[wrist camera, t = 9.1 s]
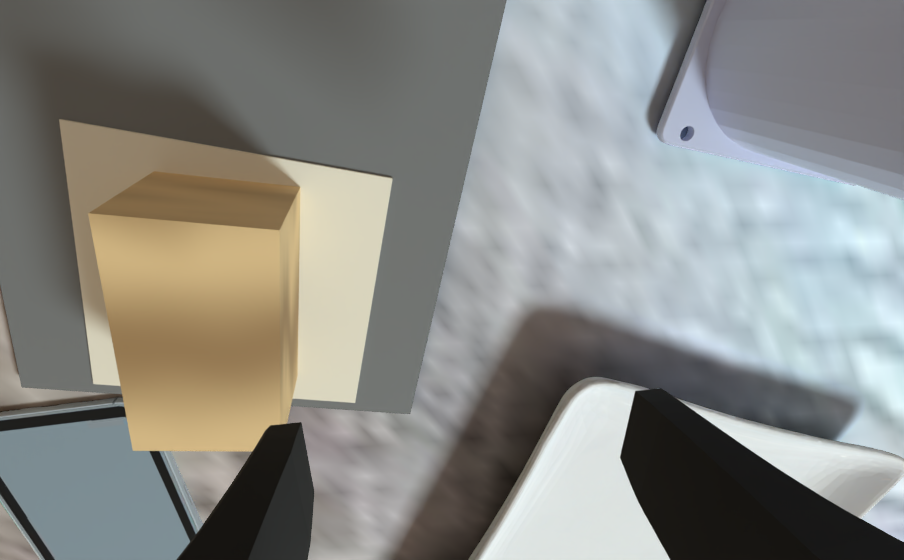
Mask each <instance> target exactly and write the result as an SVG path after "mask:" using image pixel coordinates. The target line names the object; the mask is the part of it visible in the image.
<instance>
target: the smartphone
mask: <svg viewBox="0 0 904 560" xmlns="http://www.w3.org/2000/svg"><path fill="white" fill-rule="evenodd" d="M0 502H1V504H2V505H3V507H4V508H5V510H6V511H7V513H8V514H9V515H10V517H11V518H12V520H13V521H14V523H15V524H16V526H17V527H18V528H19V530H20V531H21V533H22V534H23V536H24V537H25V539H26V540H27V541H28V543H29V544H30V546H31V547H32V549H33V550H34V552H35V553H36V554H37V556H38V557H39V559H40V560H177V558H178V557H179V556H180V554H181V553H182V552H183V551H184V549H185V548H186V547H187V545H188V544H189V543H190V541H191V540H192V539H193V537H194V536H195V535H196V534H197V532H198V531H199V530H200V528H201V527H202V525H203V523H202V521H201V519H200V516H199V514H198V512H197V510H196V507H195V505H194V503H193V500H192V498H191V496H190V494H189V491H188V489H187V487H186V484H185V482H184V480H183V478H182V475H181V473H180V471H179V469H178V466H177V464H176V462H175V459H174V457H173V455H172V453H171V451H133V449H132V444H131V439H130V433H129V428H128V423H127V417H126V412H125V407H124V401H123V397H118V398H109V399H101V400H99V401H97V400H94V401H88V402H85V401H84V402H82V403H80V402H76V403H68V404H60V405H57V406H49V407H36V408H26V409H21V410H18V409H17V410H14V411H12V410H9V411H7V412H6V411H3V412H0Z"/></svg>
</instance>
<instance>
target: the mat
mask: <svg viewBox="0 0 904 560" xmlns="http://www.w3.org/2000/svg"><path fill="white" fill-rule="evenodd" d="M505 4H506V0H0V286H1V291H2V296H3V300H4V305H5V310H6V315H7V319H8V324H9V329H10V334H11V338H12V343H13V348H14V353H15V358H16V362H17V367H18V372H19V377H20V381H21V386H22V387H25V388H39V389H54V390H68V391H82V392H97V393H111V394H122V391H121V386H120V380H119V375H118V370H117V364H116V359H115V354H114V348H113V343H112V338H111V332H110V327H109V322H108V317H107V311H106V306H105V301H104V295H103V290H102V285H101V279H100V274H99V269H98V263H97V258H96V253H95V248H94V242H93V237H92V232H91V226H90V221H89V216H88V213H89V212H91V211H92V210H94V209H96V208H97V207H99V206H100V205H102V204H103V203H105V202H107V201H108V200H110V199H111V198H113V197H114V196H116V195H118V194H119V193H121V192H122V191H124V190H125V189H127V188H129V187H130V186H132V185H133V184H135V183H136V182H138V181H140V180H141V179H143V178H144V177H146V176H147V175H149V174H151V173H152V172H154V171H156V172H165V173H175V174H184V175H193V176H203V177H212V178H221V179H231V180H240V181H250V182H259V183H268V184H278V185H287V186H297V187H300V250H299V315H298V377H297V381H296V385H295V390H294V394H293V399H292V403H291V406H299V407H314V408H328V409H343V410H357V411H372V412H386V413H401V414H410V412H411V408H412V403H413V399H414V395H415V391H416V386H417V382H418V378H419V373H420V369H421V365H422V361H423V356H424V352H425V348H426V343H427V339H428V335H429V331H430V326H431V322H432V318H433V313H434V309H435V305H436V301H437V296H438V292H439V288H440V283H441V279H442V275H443V270H444V266H445V262H446V258H447V253H448V249H449V245H450V240H451V236H452V232H453V228H454V223H455V219H456V215H457V210H458V206H459V202H460V198H461V193H462V189H463V185H464V180H465V176H466V172H467V168H468V163H469V159H470V155H471V150H472V146H473V142H474V137H475V133H476V129H477V125H478V120H479V116H480V112H481V107H482V103H483V99H484V95H485V90H486V86H487V82H488V77H489V73H490V69H491V65H492V60H493V56H494V52H495V47H496V43H497V39H498V35H499V30H500V26H501V22H502V17H503V13H504V9H505Z"/></svg>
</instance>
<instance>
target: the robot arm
mask: <svg viewBox="0 0 904 560" xmlns="http://www.w3.org/2000/svg"><path fill="white" fill-rule="evenodd" d="M686 126H687V127H688V132H687V134H686V136H685V137H683V138H682V139H681V137H680V134H681V131H682V130H683V128H685V127H686ZM657 137H658V139H659V140H660V141H661V142H663V143H666V144H668V145H672V146H677V147H681V148H686V149H690V150H695V151H700V152H704V153H709V154H713V155H718V156H722V157H727V158H731V159H736V160H740V161H745V162H749V163H754V164H758V165H763V166H767V167H772V168H777V169H781V170H786V171H790V172H795V173H799V174H804V175H808V176H813V177H817V178H822V179H826V180H831V181H835V182H840V183H844V184H849V185H853V186H855V185H858V186H861V187H864V188H867V189H870V190H873V191H876V192H880V193H883V194H886V195H889V196H892V197H895V198H898V199H901V200H904V0H707V1H706V4H705V6H704V9H703V12H702V14H701V17H700V19H699V22H698V24H697V27H696V30H695V32H694V35H693V37H692V40H691V42H690V45H689V47H688V50H687V53H686V55H685V58H684V60H683V63H682V65H681V68H680V71H679V73H678V76H677V78H676V81H675V83H674V86H673V89H672V91H671V94H670V96H669V99H668V101H667V104H666V106H665V109H664V112H663V114H662V117H661V119H660V122H659V124H658V128H657ZM620 459H621V461H622V464H623V467H624V469H625V472H626V474H627V477H628V479H629V482H630V484H631V486H632V489H633V491H634V493H635V496H636V498H637V500H638V503H639V504H640V506H641V508H642V510H643V512H644V514H645V515H646V517H647V519H648V521H649V523H650V524H651V526H652V528H653V530H654V532H655V534H656V535H657V537H658V539H659V541H660V542H661V544H662V546H663V548H664V550H665V551H666V553H667V555H668V557H669V558H670V560H904V542H902V541H900V540H898V539H896V538H895V537H893V536H891V535H889V534H887V533H885V532H884V531H882V530H880V529H878V528H876V527H875V526H873V525H871V524H869V523H867V522H866V521H864V520H862V519H860V518H858V517H857V516H855V515H853V514H851V513H850V512H848V511H846V510H844V509H842V508H841V507H839V506H837V505H836V504H834V503H832V502H831V501H829V500H827V499H826V498H824V497H822V496H821V495H819V494H817V493H816V492H814V491H813V490H811V489H809V488H808V487H806V486H805V485H803V484H801V483H800V482H798V481H797V480H795V479H793V478H792V477H790V476H789V475H787V474H786V473H784V472H782V471H781V470H779V469H778V468H776V467H775V466H773V465H772V464H770V463H769V462H767V461H766V460H764V459H763V458H761V457H760V456H758V455H757V454H755V453H754V452H752V451H751V450H749V449H748V448H747V447H745V446H744V445H742V444H741V443H739V442H738V441H736V440H735V439H733V438H732V437H731V436H729V435H728V434H726V433H725V432H723V431H722V430H721V429H719V428H718V427H716V426H715V425H713V424H712V423H711V422H709V421H708V420H706V419H705V418H704V417H702V416H701V415H699V414H698V413H696V412H695V411H694V410H692V409H691V408H689V407H688V406H686V405H685V404H684V403H682V402H681V401H679V400H678V399H676V398H675V397H673V396H672V395H670V394H669V393H667V392H666V391H664V390H663V389H650V390H640V391H635V394H634V398H633V403H632V407H631V411H630V416H629V420H628V424H627V429H626V433H625V437H624V442H623V446H622V450H621V455H620ZM313 502H314V488H313V482H312V477H311V472H310V466H309V461H308V456H307V450H306V445H305V440H304V434H303V429H302V423H301V422H300V423H290V424H279V425H270V426H269V427H268V428H267V429H266V430H265V432H264V433H263V435H262V437H261V438H260V440H259V442H258V443H257V445H256V447H255V448H254V450H253V451H252V453H251V455H250V456H249V458H248V459H247V461H246V463H245V464H244V466H243V467H242V469H241V470H240V472H239V473H238V475H237V476H236V478H235V479H234V481H233V482H232V484H231V485H230V487H229V488H228V490H227V491H226V493H225V494H224V496H223V497H222V498H221V500H220V501H219V503H218V504H217V506H216V507H215V508H214V510H213V511H212V513H211V514H210V516H209V517H208V518H207V520H206V521H205V523H204V524H203V525H202V527H201V528H200V530H199V531H198V532H197V534H196V535H195V536H194V537H193V539H192V540H191V541H190V543H189V544H188V545H187V547H186V548H185V549H184V551H183V552H182V553H181V554H180V556H179V557H178V558H177V560H307V559H308V553H309V548H310V541H311V529H312V516H313Z"/></svg>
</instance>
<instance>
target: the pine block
mask: <svg viewBox="0 0 904 560" xmlns="http://www.w3.org/2000/svg"><path fill="white" fill-rule="evenodd" d="M88 216H89V221H90V226H91V232H92V237H93V242H94V248H95V253H96V258H97V263H98V269H99V274H100V279H101V285H102V290H103V295H104V301H105V306H106V311H107V317H108V322H109V327H110V332H111V338H112V343H113V348H114V354H115V359H116V364H117V370H118V375H119V380H120V386H121V391H122V396H123V401H124V407H125V412H126V417H127V423H128V428H129V433H130V439H131V444H132V449H133V451H253V450H254V448H255V447H256V445H257V443H258V442H259V440H260V438H261V437H262V435H263V433H264V432H265V430H266V429H267V428H268V427H269V426H270V425H279V424H287V421H288V416H289V412H290V407H291V403H292V399H293V394H294V390H295V385H296V381H297V377H298V315H299V250H300V187H297V186H287V185H278V184H268V183H259V182H250V181H240V180H231V179H221V178H212V177H203V176H193V175H184V174H175V173H165V172H156V171H154V172H152V173H151V174H149V175H147V176H146V177H144V178H143V179H141V180H140V181H138V182H136V183H135V184H133V185H132V186H130V187H129V188H127V189H125V190H124V191H122V192H121V193H119V194H118V195H116V196H114V197H113V198H111V199H110V200H108V201H107V202H105V203H103V204H102V205H100V206H99V207H97V208H96V209H94V210H92V211H91V212H89V213H88Z"/></svg>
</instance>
